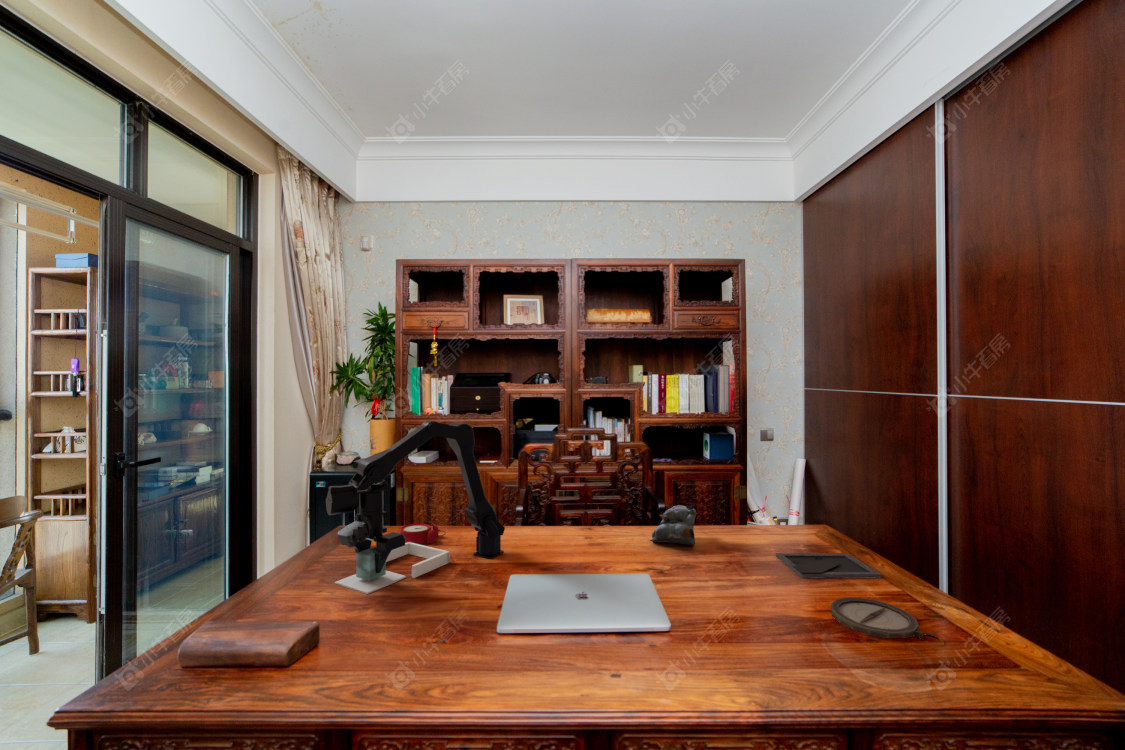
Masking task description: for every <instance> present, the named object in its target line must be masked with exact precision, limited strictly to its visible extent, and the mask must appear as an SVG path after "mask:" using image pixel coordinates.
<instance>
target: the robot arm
mask: <svg viewBox="0 0 1125 750" xmlns="http://www.w3.org/2000/svg"><path fill="white" fill-rule="evenodd" d="M434 437H439V438H440V437H441V438H445V439H446V441H447V443H448V445H449V447H450V448H451V450H452V451H453V452H454V454H455V455H456V458H457V461H458V465H459V468H460V472H461V476H462V479H463V484H464V486H465V490H466V494H467V497H468V501H469V503H468V507H464V509H463V510H464V512H465V515H466V521H467V522H469V524H470V525H471V526H473V528H474V530H475V531H476V539H475V540H476V541H475V542H476V543H475V544H476V545H475V550H476V551H475V552H473V556H477V557H481V558H485V559H493V558H495V557H498V556H499V555H502V554H504V553H505V551H504V550H502V549H501V547H502V546H501V545H502V544H501V543H502V541H501V538H502V537H501V536H503V535H504V532H505V530H506V528H505V526H504V525H503V524H502V523H500V522H499V521H498V517H497V514H496V512H495V510H494V508H493V506H492V505H491V503H490V502H489V501H488V499H487V498H486V495H485V491H484V488H483V484H482V480H481V475H480V472H479V469H478V466H477V462H476V457H475V455H474V449H475V448H474V447H475V434H474V430H473V427H472V426H471V425H469V424H467V423H463V422H459V421H458V422H457V421H454V422H450V423H449V424H446V423H441V422H437V421H434V420H430V419H429V420H426V421H424V422H423V423H421V425H419V426H418V427H417V428H415V429H414V430H412V431H411V432H409V433H408V434H406V435H405V436H404V437H403V438H401V439H399V440H398V441H397V442H395V443H394V444H392V445H391V446H390V447H388V448H386V449H384V450H383V451H379V452H376V453H373V454H372V455H369V456H368V457H366V458H364V459H362V460H361V461H360V462H359V463H358V464H357V468H356V472H355V473H354V474H353V476H352V478H351V479H350V480H349V482H348V484H346V485H330V486H328V491H327V494H326V498H325V507H326V509H325V510H326V512H327V515H328V516H334V515H341V514H348V513H354V512H355V510H358V511H359V513H355V516H354V521H353V522H350V523H349V524H348V525H345V526H342V527H340V529H339V530H338V532H337V539H338V540H339V542H340V545H341V546H347V547H349V548H353V549H354V552H355V554H356V553H358V552H361V551H364V550H367V549H369V548H371V549H370V550H371V551H372V552H373V553H374V554H375V569H376V573H380V572H381V570H382V568H383V566H384V564H385V562H386V560H387V557H388V556H389V554H390V552H391V550H393V549H396V548H399V547H402V546H404V545H405V536H404V535H403V534H399V532H395V531H393V532H390V533H387V532H388V528H387V527H384V517H387V516H388V511H384V492H385V491H389V490H392V489H393V487H392V486H391V485H390V484H389V483H387V480H385V479H386V478H387V477H388V476H389V475H390V474H391V472H393V469H394V468H395V467H396V465H398V463H399V462H400V461H402V460H403V459H404V458H406V457H408V456H409V455H410V454H411V453H413V452H414V451H416V450H417V449H418V448H420V447H421V446H422V445H424V444H425V443H426V442H428V441H429V440H431V439H433V438H434ZM358 507H359V508H358ZM384 533H386V534H384ZM373 542H375V547H373V548H372V543H373ZM386 563H387V562H386Z"/></svg>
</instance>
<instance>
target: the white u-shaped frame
mask: <svg viewBox="0 0 1125 750" xmlns="http://www.w3.org/2000/svg"><path fill="white" fill-rule="evenodd" d="M406 555H411V556H416V557H420V558H424V560H422V561H419V562H417V563H414V564H412V565H411V578H413V579H415V578H417V577H420V576H422V575H424V574H426V573H430V572H431V571H433V570H435V569H438V568H440V567H443V566H444V565H447V564H449V563H451V562H450V560H451V559H450V558H451V557H450V555H451V553H450V551H448V550H444V549H440V548H436V547H432V546H427V545H424V544H415V543H411V542H407V543H405V545H404V546H402V547H399V548H396V549H393V550H391V552H390V554H389V556H388V557H387V560H386V563H387V562H390V561H393V560H395V559H399V558H401V557H403V556H406Z"/></svg>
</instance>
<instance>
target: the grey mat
mask: <svg viewBox="0 0 1125 750" xmlns="http://www.w3.org/2000/svg"><path fill="white" fill-rule="evenodd" d="M406 578H407V576H406V575H404V574H400V573H396V572H393V571H389V570H387V569H386V575H383V576H381V577H378V578H376V579H373V580H371V581H368V580H365V579H361V578H358V577H356V573H355V574H352V575H349V576H347V577H344V578H342V579H340V580H337V581H335V582H334V585H338V586H341V587H344V588H347V589H350V590H352V591H355V592H359V593H362V594H365V595H369V594H371V593H373V592H375V591H378V590H381V589H383V588H385V587H387V586H390V585H392V584H395V583H397V582H399V581H402V580H403V579H404V580H405V579H406Z"/></svg>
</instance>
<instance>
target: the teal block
mask: <svg viewBox="0 0 1125 750" xmlns="http://www.w3.org/2000/svg"><path fill="white" fill-rule="evenodd" d="M371 548H374V547H372V546H371ZM371 548H369V549H367V550H364V551H361V552H358V553H356V552H355V554H356V557H355V560H356V561H355V565H356V566H355V571H356V572H355V574H356V577H358V578H361V579H365V580H368V581H371V580H373V579H376V578H378V577H381V576H383V575H386V570H387V567H386V566H387V562H385V564H384V566H383V568H382V570H381V572H380V573H376V569H375V554H374V553H373V552H372V551H371V550H370V549H371Z"/></svg>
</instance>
